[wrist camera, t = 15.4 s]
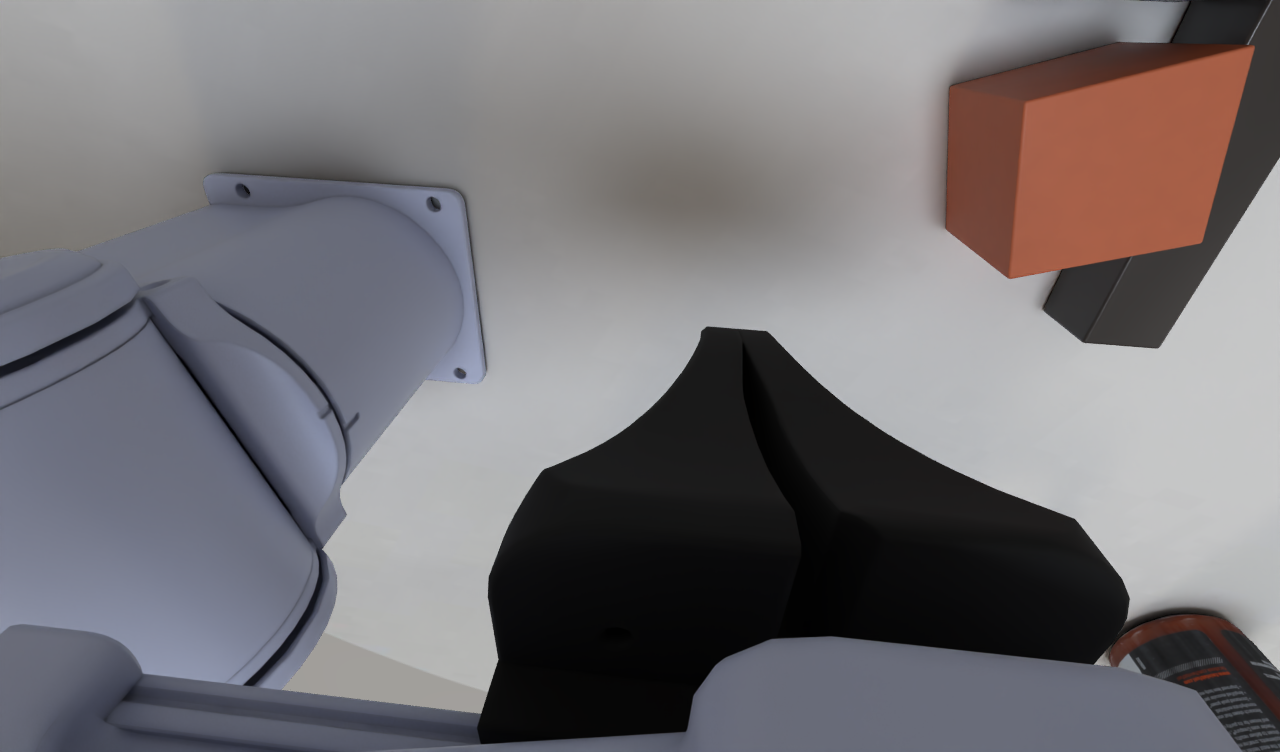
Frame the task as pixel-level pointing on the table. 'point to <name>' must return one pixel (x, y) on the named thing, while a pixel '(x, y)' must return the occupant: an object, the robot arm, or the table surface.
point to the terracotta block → (1092, 154)
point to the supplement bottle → (1210, 672)
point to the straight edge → (1166, 280)
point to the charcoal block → (1170, 0)
